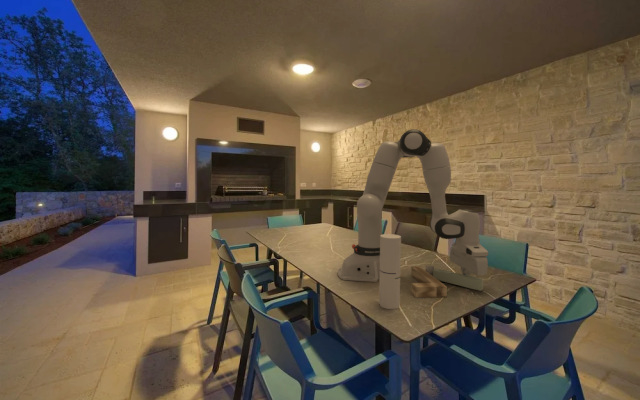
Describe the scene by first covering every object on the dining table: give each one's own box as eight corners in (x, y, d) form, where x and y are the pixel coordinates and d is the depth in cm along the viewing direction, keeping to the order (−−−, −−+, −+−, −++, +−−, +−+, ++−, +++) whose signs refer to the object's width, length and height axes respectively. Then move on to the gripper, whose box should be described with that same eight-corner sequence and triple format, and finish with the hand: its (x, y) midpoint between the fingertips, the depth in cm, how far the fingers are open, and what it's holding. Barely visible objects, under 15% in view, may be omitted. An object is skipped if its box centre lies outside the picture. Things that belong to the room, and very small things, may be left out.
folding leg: (424, 277, 118) (424, 266, 118) (427, 275, 120) (427, 264, 120) (480, 291, 102) (481, 279, 102) (483, 289, 105) (483, 277, 104)
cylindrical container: (376, 300, 95) (377, 234, 93) (395, 299, 96) (396, 233, 94) (382, 309, 88) (384, 238, 86) (402, 308, 89) (404, 238, 87)
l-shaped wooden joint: (415, 297, 97) (416, 287, 97) (394, 274, 121) (395, 266, 121) (448, 296, 98) (448, 286, 98) (421, 274, 122) (421, 266, 122)
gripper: (446, 241, 119) (445, 270, 120) (476, 253, 99) (474, 288, 100) (459, 241, 120) (458, 269, 121) (491, 253, 99) (490, 287, 100)
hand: (466, 278), depth 110 cm, fingers closed
